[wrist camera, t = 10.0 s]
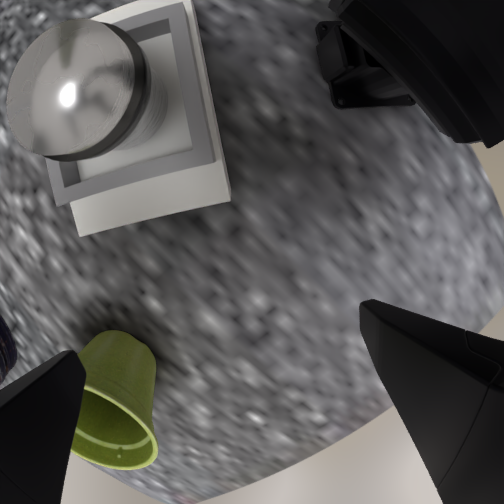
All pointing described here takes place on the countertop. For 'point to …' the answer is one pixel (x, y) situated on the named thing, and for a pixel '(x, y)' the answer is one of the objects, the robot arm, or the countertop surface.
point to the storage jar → (6, 350)
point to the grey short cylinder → (84, 93)
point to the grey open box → (162, 142)
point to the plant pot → (117, 403)
